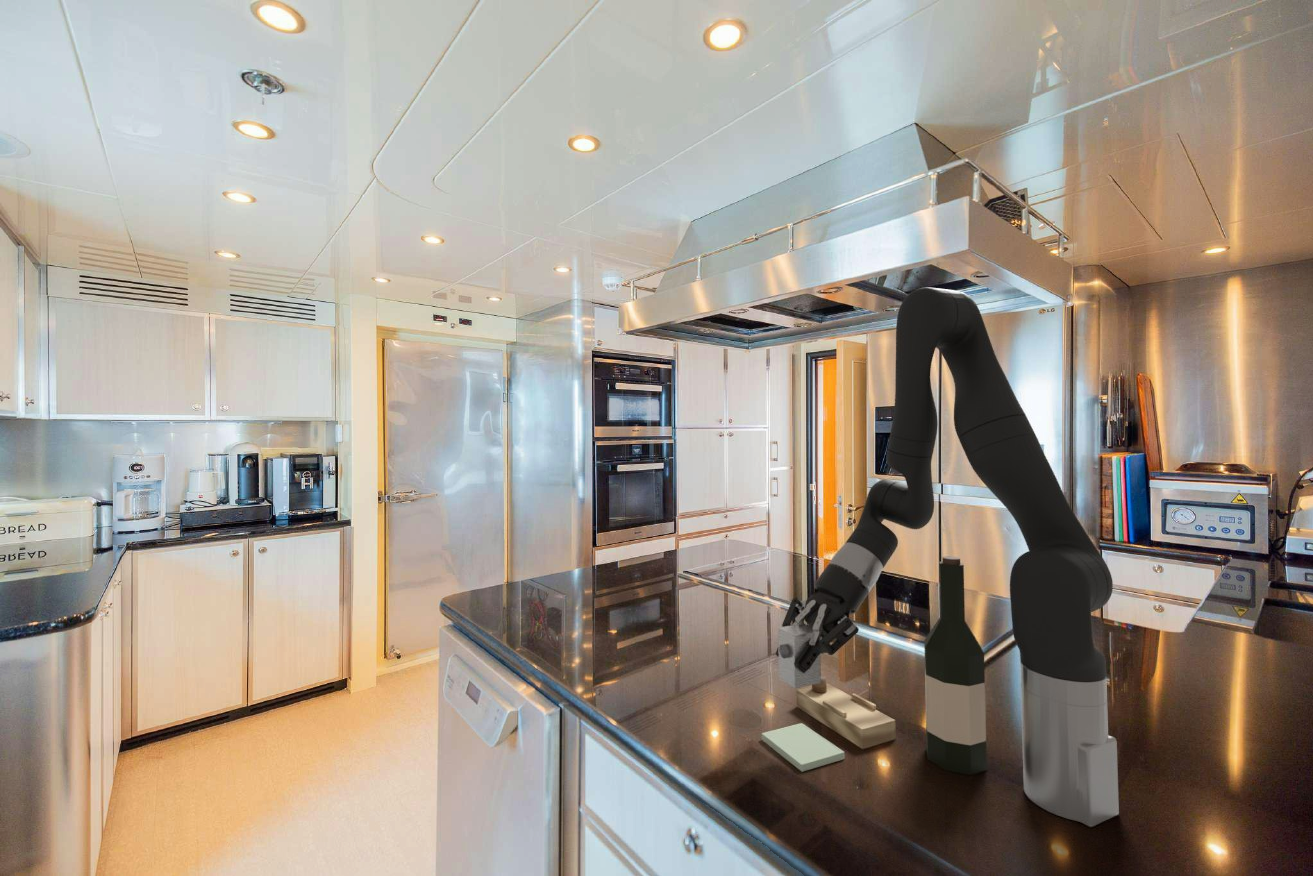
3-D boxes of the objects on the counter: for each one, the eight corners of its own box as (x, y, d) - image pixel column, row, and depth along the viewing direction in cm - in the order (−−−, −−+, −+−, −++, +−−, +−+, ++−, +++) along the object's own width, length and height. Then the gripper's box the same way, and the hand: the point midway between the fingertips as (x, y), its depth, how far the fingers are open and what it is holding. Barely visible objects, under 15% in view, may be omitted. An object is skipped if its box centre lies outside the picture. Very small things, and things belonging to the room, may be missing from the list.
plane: (895, 739, 89) (895, 705, 89) (862, 749, 86) (861, 713, 87) (827, 699, 104) (826, 670, 104) (796, 706, 101) (796, 676, 101)
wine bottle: (916, 759, 83) (912, 558, 84) (936, 738, 89) (932, 551, 90) (978, 782, 77) (973, 565, 78) (995, 758, 83) (990, 557, 84)
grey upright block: (820, 682, 86) (820, 630, 86) (791, 689, 84) (791, 636, 84) (803, 673, 90) (803, 623, 90) (775, 679, 88) (775, 628, 88)
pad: (844, 758, 84) (844, 752, 84) (801, 771, 80) (801, 764, 80) (801, 729, 93) (801, 723, 93) (761, 739, 89) (761, 733, 90)
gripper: (807, 554, 97) (748, 634, 92) (869, 571, 84) (805, 666, 79) (831, 582, 99) (775, 662, 94) (895, 602, 86) (834, 696, 81)
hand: (789, 663), depth 86 cm, fingers closed on grey upright block, 4 cm apart
